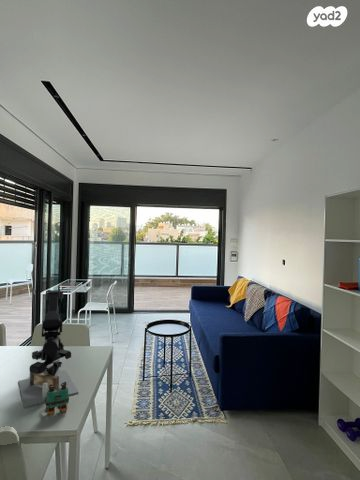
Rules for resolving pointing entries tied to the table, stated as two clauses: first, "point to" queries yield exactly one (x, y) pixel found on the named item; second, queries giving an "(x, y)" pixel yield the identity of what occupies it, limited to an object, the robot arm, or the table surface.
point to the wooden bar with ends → (44, 380)
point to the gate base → (43, 389)
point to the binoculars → (57, 398)
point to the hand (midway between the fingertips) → (51, 379)
